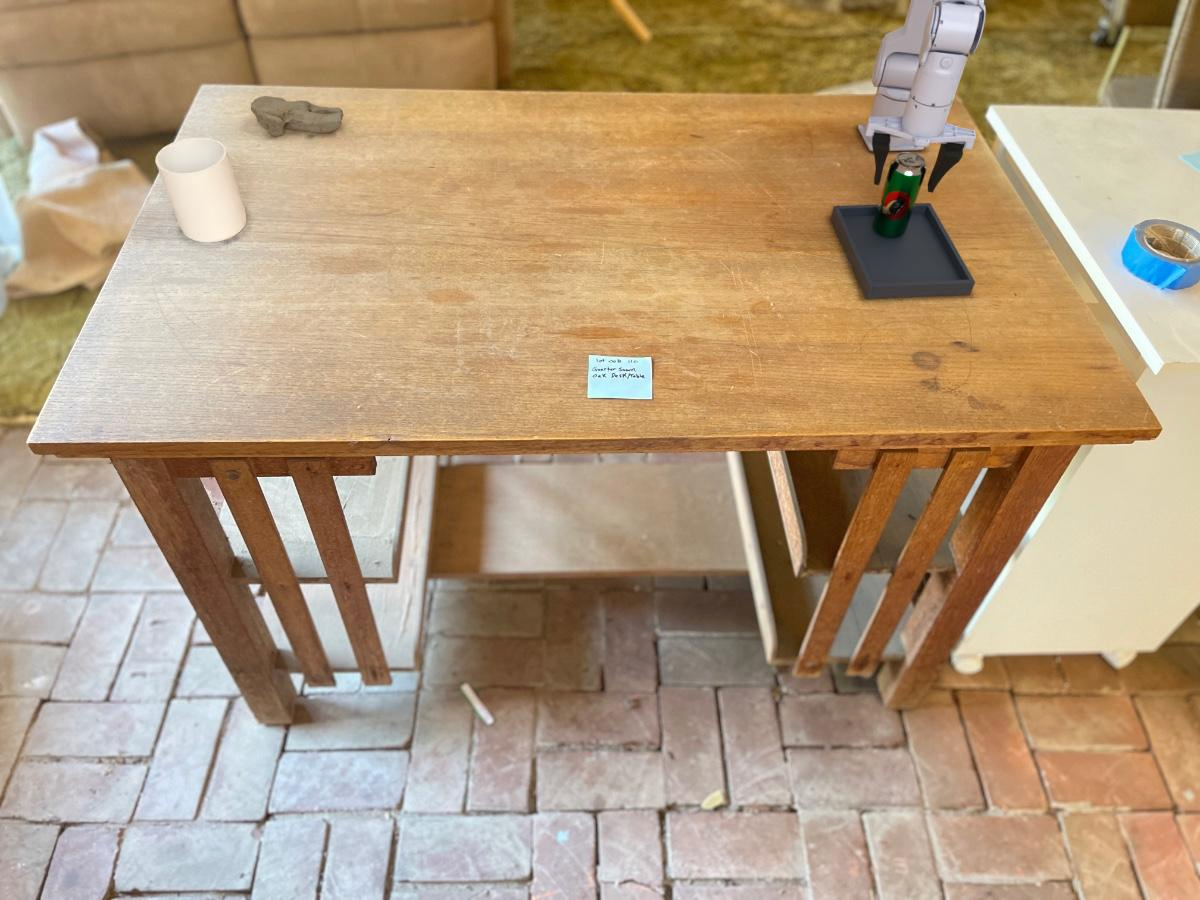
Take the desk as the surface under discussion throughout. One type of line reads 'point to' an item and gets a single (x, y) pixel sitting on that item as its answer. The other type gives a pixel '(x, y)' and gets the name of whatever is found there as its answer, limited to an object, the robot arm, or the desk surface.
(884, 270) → the dark grey tray
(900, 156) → the soda can
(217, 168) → the mug
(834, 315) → the desk surface
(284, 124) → the sculpture
